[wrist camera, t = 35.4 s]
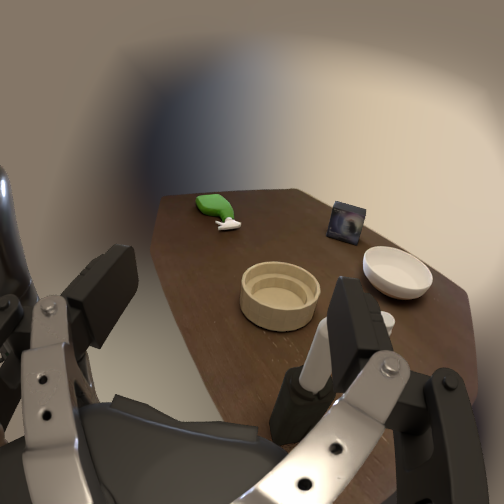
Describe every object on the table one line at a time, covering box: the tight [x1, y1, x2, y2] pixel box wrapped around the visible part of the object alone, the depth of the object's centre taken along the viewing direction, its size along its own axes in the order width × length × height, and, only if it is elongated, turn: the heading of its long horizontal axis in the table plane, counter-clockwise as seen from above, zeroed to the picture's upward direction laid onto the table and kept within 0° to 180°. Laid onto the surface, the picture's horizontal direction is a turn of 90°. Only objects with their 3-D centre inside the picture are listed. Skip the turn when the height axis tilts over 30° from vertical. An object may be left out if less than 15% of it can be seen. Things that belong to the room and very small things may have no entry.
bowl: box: [363, 246, 433, 300], centre depth 66 cm, size 20×20×6 cm
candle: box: [269, 317, 336, 445], centre depth 28 cm, size 5×5×25 cm
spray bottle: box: [196, 194, 241, 230], centre depth 93 cm, size 3×11×25 cm
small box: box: [326, 201, 366, 245], centre depth 86 cm, size 11×6×10 cm, turn 67°
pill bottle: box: [381, 311, 395, 337], centre depth 46 cm, size 5×5×8 cm
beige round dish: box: [240, 262, 320, 331], centre depth 56 cm, size 15×15×6 cm
